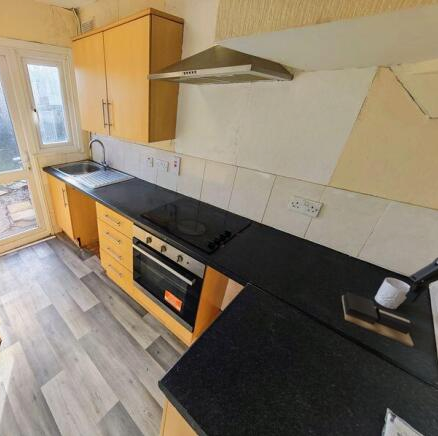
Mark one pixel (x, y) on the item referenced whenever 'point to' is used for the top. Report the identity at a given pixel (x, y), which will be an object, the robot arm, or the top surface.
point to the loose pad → (393, 320)
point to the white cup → (392, 293)
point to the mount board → (381, 329)
